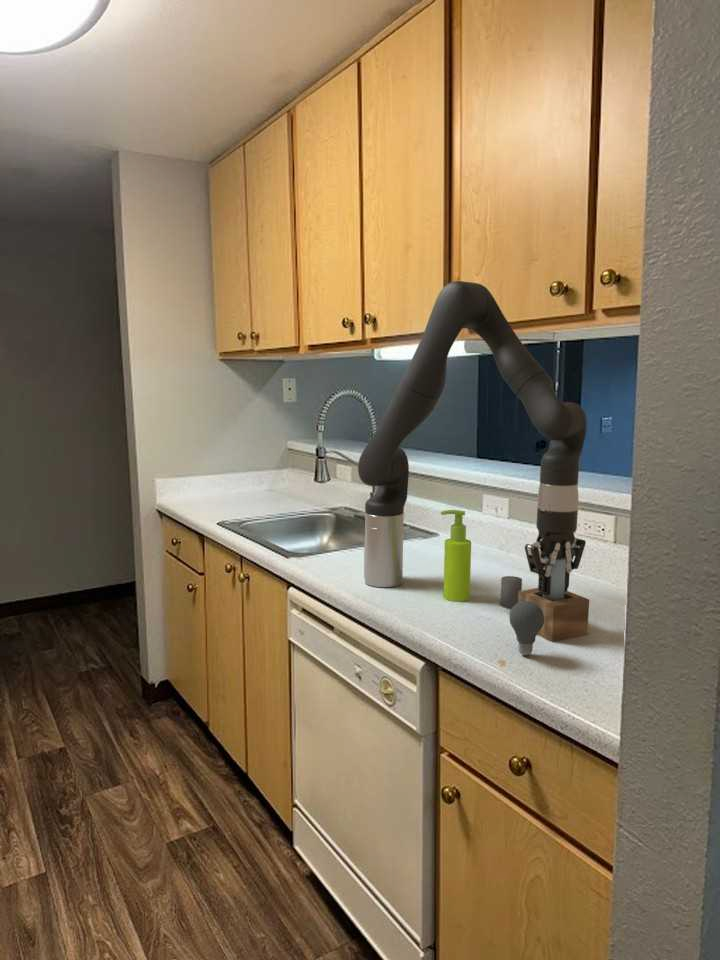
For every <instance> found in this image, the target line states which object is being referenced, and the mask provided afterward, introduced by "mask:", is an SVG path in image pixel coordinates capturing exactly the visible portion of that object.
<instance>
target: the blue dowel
mask: <svg viewBox="0 0 720 960" xmlns="http://www.w3.org/2000/svg"><path fill="white" fill-rule="evenodd" d="M545 559H546V560H549V558H547V557H545ZM545 567H546V564H545V566H544V569H545ZM565 571H566V559H565V558H557V559H556V561H555V564H554V565H553V566H552V569H551V573H550V577H551V579H550V594H549V595H544V594H543V598H545V599H548V600H550V601H558V600H563V599H564V589H565Z"/></svg>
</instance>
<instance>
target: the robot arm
mask: <svg viewBox="0 0 720 960" xmlns="http://www.w3.org/2000/svg"><path fill="white" fill-rule="evenodd" d="M462 329H468V330H469V329H471V330H472V331H473V332H475V333H476V335H478V336H479V337H480V338H481V339H482V340H483V342H485V343H486V345H487V347H488V348H489V349H490V351H491V353H492V355H493V358H494V361H495V363H496V368H497V370H498V371H499V373H500V375H501V377H502V379H503V380H504V382H505V383H506V384H507V385H508V387H509V388H510V389H511V390H512V392H513V393H514V394H515V395H516V397H517V398H518V399H519V400H520V401H521V403H522V404H523V406H524V410H525V411H526V413H527V415H528V417H529V419H530V421H531V422H532V424H533V426H534V428H535V429H536V430H537V431H538V433H540V434H541V435H542V436H543V437H545V438H546V439H548V440H550V442H549V446H548V450H547V451H546V452H545V453H544V454H543V455H542V458H541V461H540V473H539V486H538V493H537V508H536V510H537V511H536V528H537V531H538V534H537V535H538V536H537V538H536V541H534V542H533V543H532V544H529V543H526V544H525V545H524V550H525V551H524V552H525V556H526V559H527V563H528V568H529V571H530V572H531V573H534V574H537V575H538V581H537V584H538V586H537V588H538V590H539V591H540V593H541V594H544V595H549V594H550V579H551V577H550V573H551V569H552V566H553V565H554V564H555V561H556V559H557V558H565V559H566V571H565V589H564V592H566V591H568V590H569V586H570V573H572V572H573V570H577V569H579V566H580V563H581V561H582V560H581V559H582V558H583V557H582V556H583V554H584V550H585V546H586V540H585V539H582V538H578V537H575V534H574V533H576V531H577V529H578V515H579V513H578V512H579V468H580V467H579V465H580V463H579V462H580V458H581V454H582V451H583V448H584V442H585V439H586V434H587V426H588V424H587V416H586V415H587V414H586V412H585V411H584V409H583V408H582V406H581V405H579V404H578V403H575V402H573V401H567V402H566V401H565V402H563V401H562V400H561V399H560V398H559V397H558V396H557V394H556V393H555V391H554V386H555V385H554V382H553V381H554V380H553V379H552V377H551V376H549V374H548V373H547V372H546V370H545V369H544V368H543V367H542V366H541V365H540V363H539V362H538V361H537V360H536V359H535V357H534V356H533V355H532V354H531V352H530V351H529V350H528V349H527V347H526V346H525V345H524V344H523V342H522V341H521V340H520V338H519V336H517V334H516V333H515V331H514V329H513V328H512V326H511V325H510V323H509V321H508V319H506V317H505V314H504V313H503V311H502V310H501V308H500V306H499V304H498V303H497V301H496V299H495V298H494V296H493V295H492V293H491V292H490V290H489V289H488V288H487V287H486V286H484V285H483V284H481V283H478V282H469V281H462V280H454V281H451V282H449V283H448V284H446V285H445V286H444V287H443V288H442V289H441V290H440V291H439V293H438V295H437V297H436V299H435V301H434V305H433V307H432V309H431V312H430V315H429V318H428V321H427V324H426V325H425V329H424V332H423V334H422V336H421V339H420V341H419V344H418V345H417V348H416V349H415V351H414V354H413V357H411V360H410V362H409V365H408V367H407V369H406V370H405V372H404V374H403V376H402V377H401V381H400V382H399V385H398V387H397V388H396V390H395V393H394V395H393V398H392V400H391V401H390V404H389V405H388V408H387V410H385V411H386V412H384V415H383V417H382V419H381V421H380V423H379V425H378V426H377V428H376V430H375V431H374V433H373V435H372V436H371V437H370V439H369V440H368V442H367V444H366V446H365V447H364V448H363V451H362V453H361V454H360V457H359V459H358V464H357V465H358V466H357V473H358V476H359V479H360V481H361V482H362V483H363V484H364V485H367V486H370V487H378V488H377V490H376V492H375V493H374V494H373V495H372V496H371V497H370V498H369V499H367V500H366V501H365V503H364V504H365V506H364V511H365V512H364V514H365V515H364V516H365V517H364V525H365V526H364V544H363V546H364V547H363V548H364V551H363V555H364V556H363V559H364V560H363V561H364V562H363V564H364V565H363V579H364V583H365V584H367V585H369V586H370V587H371V586H372V587H374V588H375V587H376V588H391V587H392V588H393V587H394V588H395V587H397V586H400V585H402V584H403V576H404V575H403V573H404V572H403V569H404V509H405V505H406V502H407V499H408V489H409V477H410V468H409V467H410V465H409V459H408V456H407V454H406V452H405V450H404V449H403V448H401V447H400V446H401V444H402V443H403V442H404V441H405V439H406V438H407V437H408V436H409V435H410V434H412V432H414V431H415V430H416V429H417V428H418V427H419V426H420V425H421V424H423V422H424V421H425V420H427V419H428V417H429V416H430V415H431V414H432V412H433V411H434V409H435V407H436V404H437V403H438V401H439V399H440V398H441V395H442V394H443V392H444V389H445V386H446V380H447V364H448V363H447V361H448V356H449V353H450V351H451V348H452V347H453V345H454V343H455V341H456V339H457V337H458V335H459V334H460V332H461V331H462ZM545 557H547V558H549V560H546V559H545ZM545 564H546V567H545V569H544V566H545Z"/></svg>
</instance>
